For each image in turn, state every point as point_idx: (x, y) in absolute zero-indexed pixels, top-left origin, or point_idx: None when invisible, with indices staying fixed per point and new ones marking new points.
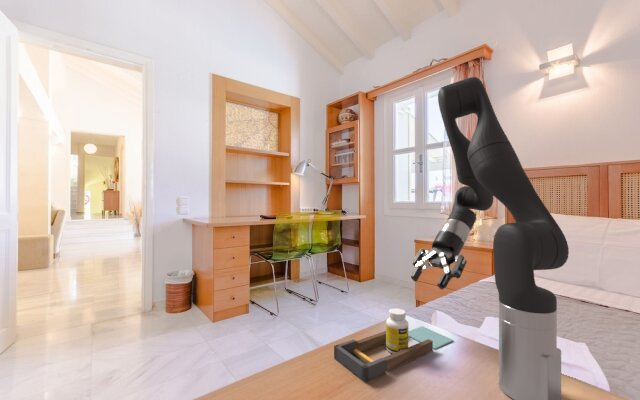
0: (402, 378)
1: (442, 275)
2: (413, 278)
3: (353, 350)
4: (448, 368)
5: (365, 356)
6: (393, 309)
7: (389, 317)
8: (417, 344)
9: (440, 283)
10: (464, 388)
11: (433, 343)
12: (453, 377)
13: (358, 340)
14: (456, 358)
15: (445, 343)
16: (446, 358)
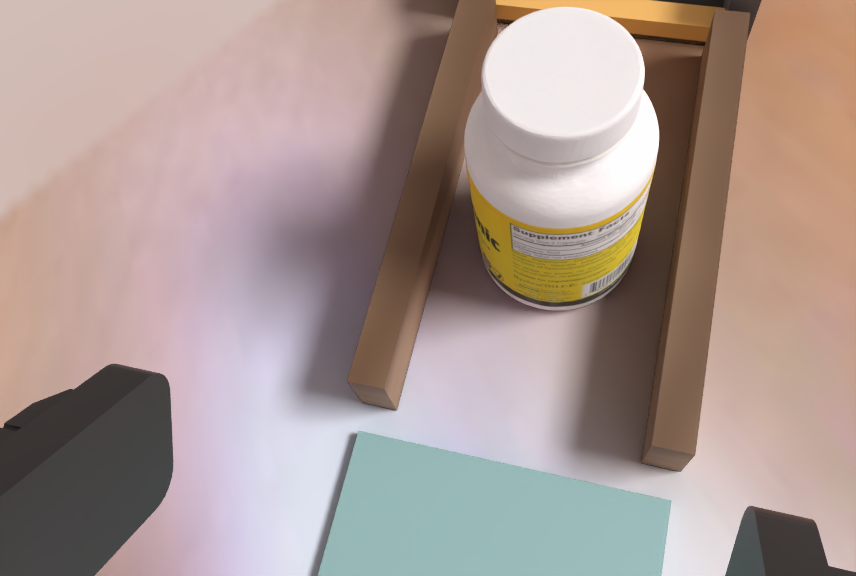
0: (380, 42)
1: (2, 478)
2: (742, 528)
3: (722, 9)
4: (218, 278)
5: (619, 8)
6: (618, 79)
7: (646, 118)
8: (412, 253)
9: (98, 384)
10: (113, 172)
11: (392, 500)
12: (175, 218)
13: (746, 29)
14: (204, 424)
15: (318, 573)
16: (257, 377)
